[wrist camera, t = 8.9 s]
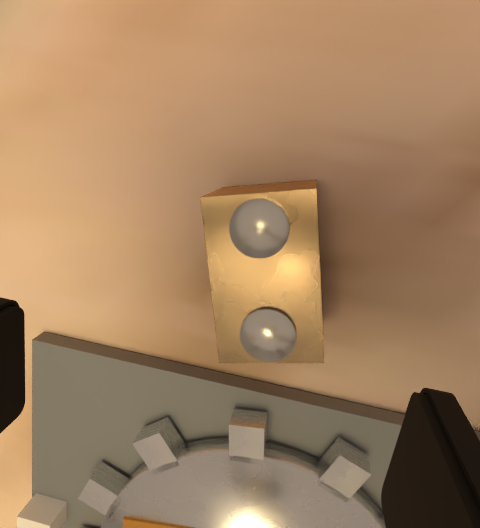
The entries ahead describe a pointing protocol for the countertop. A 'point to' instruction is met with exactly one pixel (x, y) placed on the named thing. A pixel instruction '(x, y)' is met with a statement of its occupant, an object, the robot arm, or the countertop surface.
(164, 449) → the sprocket
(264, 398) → the sprocket base
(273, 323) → the brown rectangular block
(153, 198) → the countertop surface
